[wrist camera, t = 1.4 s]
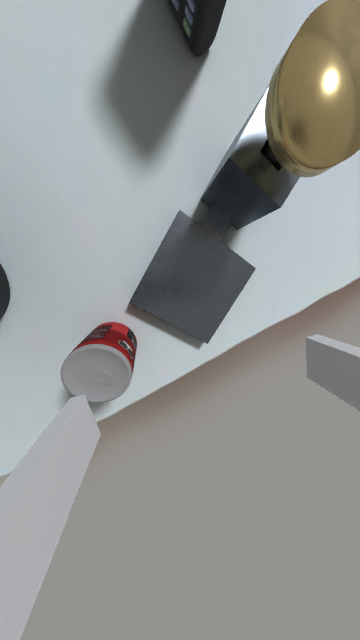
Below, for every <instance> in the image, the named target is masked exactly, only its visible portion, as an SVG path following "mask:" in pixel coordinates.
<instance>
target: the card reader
mask: <svg viewBox="0 0 360 640" xmlns="http://www.w3.org/2000/svg"><path fill="white" fill-rule="evenodd" d="M169 2H170V4H171V6H172V9H173V11H174V13H175V15H176V17H177V19H178V22H179V24H180V26H181V28H182V30H183V33H184V35H185V37H186V39H187V41H188V44H189V46H190V48H191V50H192V51H195V53H196V54H197V55H198V56H200V55H201V54H202V53H203V52H205V51H206V50H207V49H208V48H209V47H210V46H211V44H212V43H213V41H214V38H215V36H216V33H217V30H218V27H219V23H220V20H221V17H222V14H223V10H224V7H225V4H226V0H169Z"/></svg>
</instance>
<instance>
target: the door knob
mask: <svg viewBox="0 0 360 640" xmlns="http://www.w3.org/2000/svg"><path fill="white" fill-rule="evenodd" d="M265 126H266V133H267V138H268V141H269V144H268V145H267V146H266V147H265V148H264V149H263V151H262V152H261V153H262V154H263V155H264V156H265V157H266V158H267V160H268V161H269V162H270V163H271V164H272V165H274V164H275V163H276V162H279V163H280V164H281V166H282V167H284V168H285V169H286V170H287V171H288V172H290V173H292V174H294V175H296V176H300V177H313V176H316V175H319V174H321V173H323V172H325V171H327V170H329V169H330V168H332V167H334V166H335V165H337V164H339V163H340V162H342V161H344V160H346V159H347V158H349V157H350V156H352V155H353V154H355V153H356V152H357V151H358V150H359V149H360V1H359V0H328V1H326V2H324V3H323V4H321V5H320V6H319V7H317V8H316V9H315V10H314V11H313V12H312V13H311V14H310V15H309V17H308V18H307V19H306V20H305V22H304V23H303V25H302V26H301V28H300V30H299V31H298V33H297V35H296V36H295V38H294V39H293V41H292V43H291V44H290V46H289V48H288V49H287V51H286V52H285V54H284V56H283V57H282V59H281V61H280V62H279V64H278V65H277V67H276V69H275V71H274V73H273V76H272V78H271V81H270V84H269V88H268V91H267V96H266V103H265Z"/></svg>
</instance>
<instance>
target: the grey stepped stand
mask: <svg viewBox="0 0 360 640" xmlns="http://www.w3.org/2000/svg"><path fill="white" fill-rule="evenodd" d="M268 88H269V86H268ZM268 88H267V89H266V91H265V92H264V94H263V95H262V97H261V99H260V100H259V102H258V103H257V105H256V106H255V108H254V110H253V111H252V113H251V114H250V116H249V117H248V119H247V121H246V122H245V124H244V125H243V127H242V129H241V130H240V132H239V133H238V135H237V136H236V138H235V140H234V141H233V143H232V144H231V146H230V147H229V149H228V151H227V152H226V154H225V156H224V158H223V160H222V161H221V163H220V165H219V167H218V169H217V170H216V172H215V174H214V176H213V178H212V179H211V181H210V183H209V185H208V187H207V188H206V190H205V192H204V194H203V196H202V197H201V200H202V201H203V202H205V203H206V204H207V205H208V206H209V207H210V209H209V210H208V212H207V214H206V216H205V217H204V219H203V221H202V223H201V225H199V224H197V223H196V222H195V221H194V220H192V219H191V218H190V217H188V216H187V215H186V214H185V213H183V212H182V211H181V210H179V212H178V214H177V215H176V217H175V219H174V221H173V223H172V225H171V226H170V228H169V230H168V232H167V234H166V236H165V238H164V239H163V241H162V243H161V245H160V247H159V249H158V250H157V252H156V254H155V256H154V258H153V260H152V261H151V263H150V265H149V267H148V269H147V271H146V272H145V274H144V276H143V278H142V280H141V282H140V283H139V285H138V287H137V289H136V291H135V293H134V295H133V296H132V298H131V300H130V303H132V304H133V305H135V306H137V307H139V308H141V309H143V310H145V311H147V312H149V313H150V314H152V315H154V316H156V317H158V318H160V319H162V320H164V321H166V322H167V323H169V324H171V325H173V326H175V327H177V328H179V329H181V330H183V331H184V332H186V333H188V334H190V335H192V336H194V337H196V338H198V339H200V340H201V341H203V342H205V343H207V344H208V343H209V341H210V339H211V338H212V336H213V335H214V333H215V332H216V330H217V328H218V327H219V325H220V324H221V322H222V321H223V319H224V317H225V316H226V314H227V313H228V311H229V310H230V308H231V307H232V305H233V303H234V302H235V300H236V299H237V297H238V296H239V294H240V292H241V291H242V289H243V288H244V286H245V285H246V283H247V281H248V280H249V278H250V277H251V275H252V274H253V272H254V271H255V269H256V268H255V267H253V266H252V265H251V264H249V263H248V262H247V261H245V260H244V259H243V258H242V257H240V256H239V255H238V254H236V253H235V252H234V251H232V250H231V249H230V248H229V247H227V246H226V245H225V244H223V243H222V242H221V239H222V237H223V236H224V234H225V232H226V231H227V229H228V227H229V226H230V224H231V225H232V226H233V227H235V228H236V229H237V230H238V229H240V228H242V227H244V226H246V225H248V224H250V223H251V222H253V221H255V220H257V219H259V218H261V217H263V216H265V215H267V214H269V213H271V212H273V211H275V210H277V209H279V208H281V206H282V205H283V203H284V201H285V200H286V198H287V197H288V195H289V194H290V192H291V190H292V189H293V187H294V186H295V184H296V182H297V181H298V179H299V178H300V176H296V175H294V174H292V173H290V172H288V171H287V170H286V169H285V168H284V167H282V166H281V164H280V163H279V162H276V163H275V164H274V165H272V164H271V163H270V162H269V161H268V160H267V158H266V157H265V156H264V155H263V154H262V153H261V152H262V151H263V149H264V148H265V147H266V146H267V145H268V144H269V141H268V138H267V133H266V126H265V103H266V96H267V91H268Z"/></svg>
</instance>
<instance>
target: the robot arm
mask: <svg viewBox="0 0 360 640" xmlns="http://www.w3.org/2000/svg"><path fill="white" fill-rule="evenodd" d="M9 296H10V289H9V283H8V279H7V276H6V274H5V271H4V269H3V268H2V266H1V264H0V317H1V316H2V314H3V313H4V312H5V310H6V308H7V305H8V302H9ZM306 360H307V377H308V378H309V379H311V380H312V381H314V382H315V383H317V384H319V385H320V386H322V387H323V388H325V389H326V390H328V391H329V392H331V393H333V394H334V395H336V396H337V397H339V398H340V399H343V400H344V401H345V402H347V403H348V404H350V405H351V406H353V407H355V408H356V409H358V410H359V411H360V348H359V347H355V346H352V345H349V344H346V343H343V342H339V341H336V340H334V339H330V338H327V337H324V336H321V335H318V334H316V335H313V336H309V337H306ZM100 435H101V433H100V431H99V428H98V426H97V424H96V421H95V419H94V416H93V414H92V411H91V409H90V406H89V404H88V401H87V399H86V397H85V394H84V395H80V396H76V397H72V398H70V399H69V400H68V402H67V403H66V404H65V405H64V407H63V408H62V409H61V411H60V412H59V413H58V414H57V416H56V417H55V418H54V419H53V421H52V422H51V423H50V425H49V426H48V427H47V428H46V430H45V431H44V432H43V434H42V435H41V436H40V437H39V439H38V440H37V441H36V442H35V444H34V445H33V446H32V448H31V449H30V450H29V451H28V453H27V454H26V455H25V456H24V458H23V459H22V460H21V462H20V463H19V464H18V465H17V467H16V468H15V469H14V470H13V472H12V473H11V474H10V476H9V477H8V478H7V479H6V481H5V482H4V483H3V485H2V486H1V487H0V640H20V638H21V635H22V633H23V630H24V627H25V625H26V622H27V620H28V617H29V615H30V612H31V610H32V607H33V605H34V602H35V600H36V597H37V594H38V592H39V589H40V587H41V584H42V582H43V579H44V577H45V574H46V572H47V569H48V567H49V564H50V561H51V559H52V556H53V554H54V551H55V549H56V546H57V544H58V541H59V539H60V536H61V534H62V531H63V529H64V526H65V523H66V521H67V518H68V516H69V513H70V511H71V508H72V506H73V503H74V500H75V498H76V495H77V493H78V491H79V488H80V485H81V483H82V480H83V478H84V475H85V473H86V470H87V468H88V465H89V463H90V460H91V458H92V455H93V453H94V450H95V447H96V445H97V442H98V440H99V437H100Z"/></svg>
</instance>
